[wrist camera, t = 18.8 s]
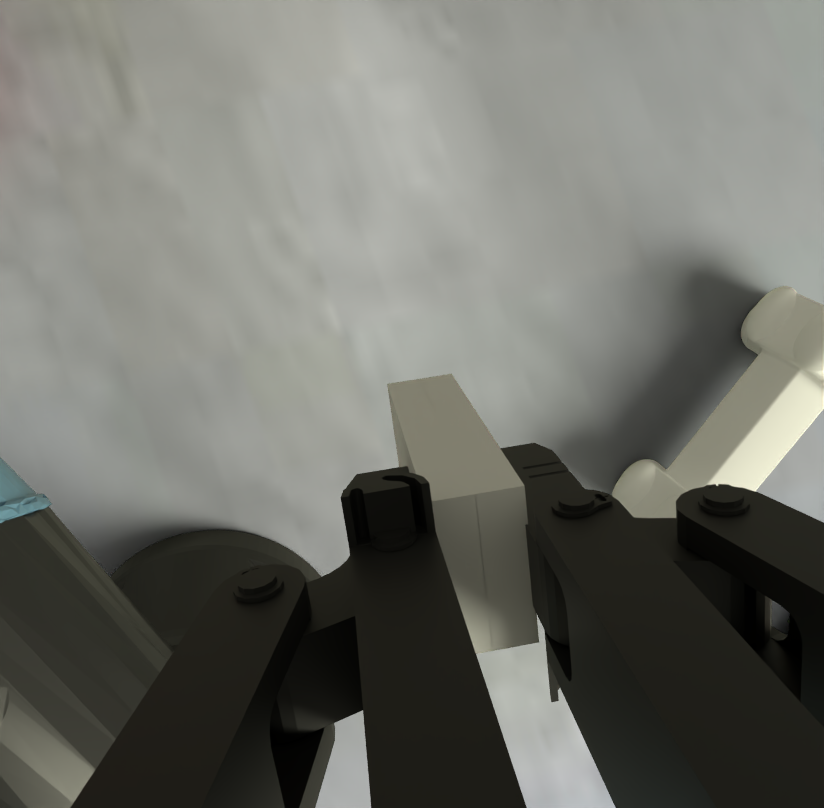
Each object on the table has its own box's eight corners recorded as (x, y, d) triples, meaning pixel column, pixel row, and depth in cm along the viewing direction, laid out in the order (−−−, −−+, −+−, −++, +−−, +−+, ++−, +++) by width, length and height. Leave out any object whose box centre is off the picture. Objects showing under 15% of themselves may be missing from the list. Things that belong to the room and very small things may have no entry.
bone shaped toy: (741, 271, 44) (820, 283, 36) (850, 355, 45) (949, 384, 37) (583, 476, 46) (624, 529, 39) (690, 549, 48) (751, 614, 40)
